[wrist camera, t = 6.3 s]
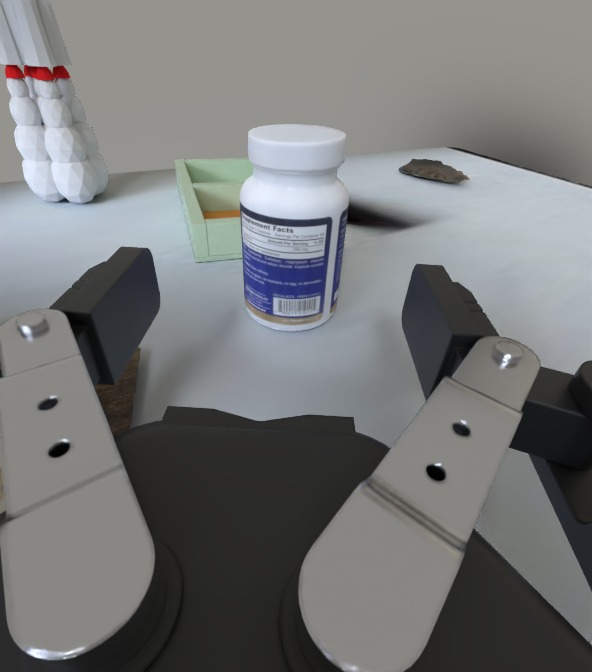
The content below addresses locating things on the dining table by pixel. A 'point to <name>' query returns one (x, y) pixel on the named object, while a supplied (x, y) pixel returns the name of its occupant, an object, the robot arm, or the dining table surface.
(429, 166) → the arrowhead
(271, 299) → the pill bottle
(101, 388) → the bread loaf
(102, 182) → the rocket model
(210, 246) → the holder
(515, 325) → the dining table surface
